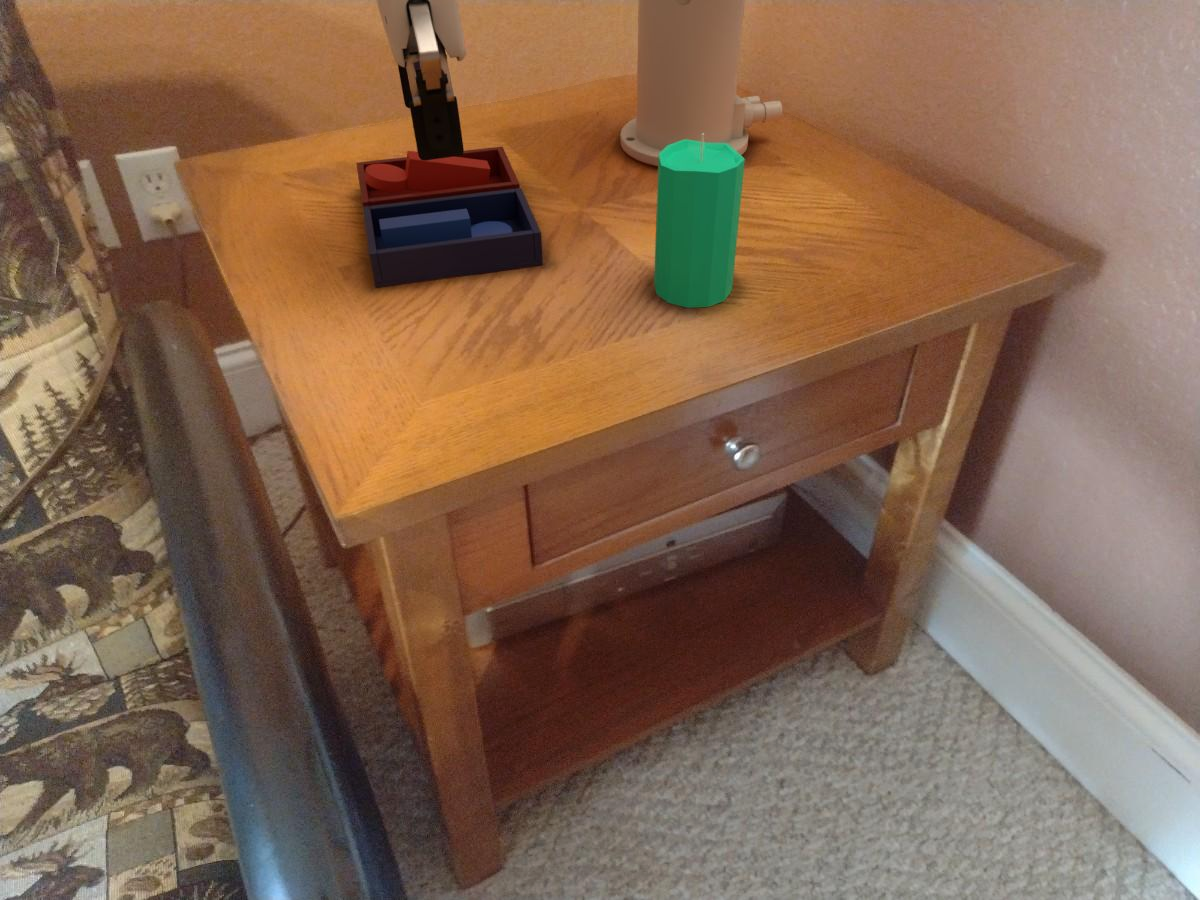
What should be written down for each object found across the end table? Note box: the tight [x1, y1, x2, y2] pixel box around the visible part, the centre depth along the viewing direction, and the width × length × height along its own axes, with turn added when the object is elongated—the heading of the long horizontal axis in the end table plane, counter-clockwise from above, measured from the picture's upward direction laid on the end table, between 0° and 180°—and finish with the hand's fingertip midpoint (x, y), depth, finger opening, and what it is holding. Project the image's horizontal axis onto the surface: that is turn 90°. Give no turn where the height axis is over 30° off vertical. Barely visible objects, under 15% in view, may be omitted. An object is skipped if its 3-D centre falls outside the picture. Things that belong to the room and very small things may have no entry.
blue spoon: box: [379, 209, 512, 249], centre depth 73 cm, size 10×4×3 cm, turn 105°
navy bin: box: [362, 187, 544, 289], centre depth 74 cm, size 13×8×3 cm, turn 105°
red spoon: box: [365, 150, 490, 192], centre depth 79 cm, size 10×4×3 cm, turn 104°
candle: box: [653, 133, 746, 309], centre depth 66 cm, size 6×6×12 cm
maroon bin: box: [355, 146, 521, 208], centre depth 80 cm, size 13×8×3 cm, turn 105°
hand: (433, 129), depth 68 cm, fingers open, 9 cm apart
